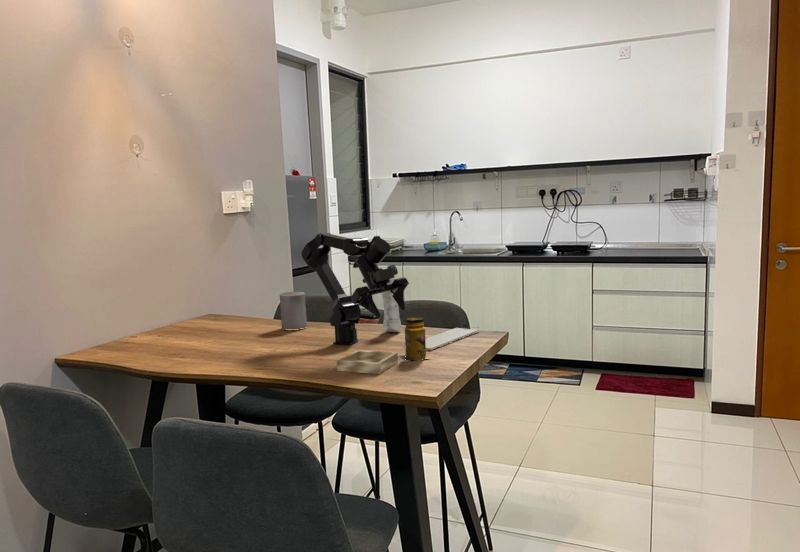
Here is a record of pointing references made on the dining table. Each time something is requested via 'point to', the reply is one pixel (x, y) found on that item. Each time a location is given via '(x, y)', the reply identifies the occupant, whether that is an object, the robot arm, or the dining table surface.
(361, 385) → the dining table surface
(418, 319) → the condiment
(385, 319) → the plastic bottle
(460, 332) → the baseboard molding
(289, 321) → the pillar candle
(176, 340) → the dining table surface
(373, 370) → the caddy
